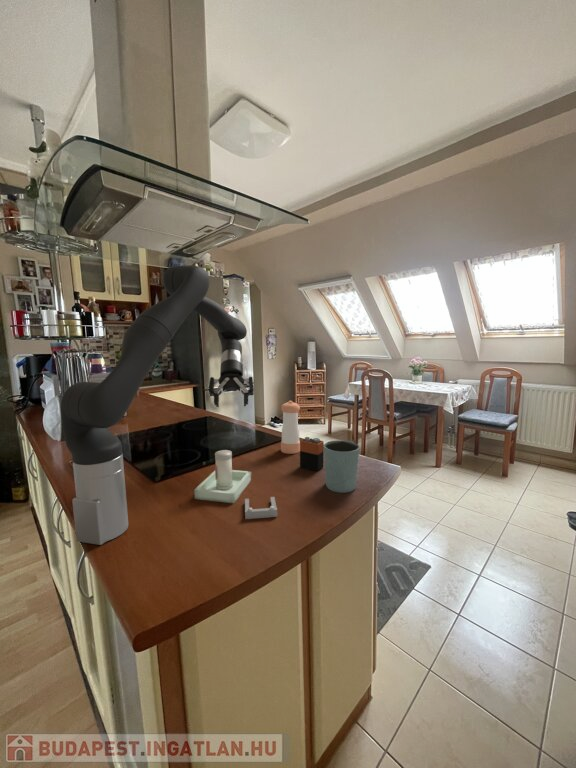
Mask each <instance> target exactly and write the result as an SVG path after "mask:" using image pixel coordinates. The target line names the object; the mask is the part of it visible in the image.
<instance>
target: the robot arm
mask: <svg viewBox="0 0 576 768" xmlns="http://www.w3.org/2000/svg"><path fill="white" fill-rule="evenodd" d="M162 280H163V282H162V283H163V285H164V288H165V291H166V292H167V293H168V294H169V296H168V297H166V298H165V299H163V300H161V301H159V302H156V303H154V304H153V305H151V306H149V307H148V308H146V309H145V310H144V311H142V312H141V313H140V314H139V315H137V317H136V318H135V320H134V321H132V323H131V324H130V325H129V327H128V328H127V329H126V331H125V333H124V335H123V338H122V344H121V353H120V358H119V360H118V362H117V363H116V365H115V366H114V367H113V368H112V370H111V372H109V374H108V375H107V376H106V377H105V378H104V379H103V380H102V381H100V382H93V381H92V382H90V381H80V382H76V383H73V384H71V385H70V386H68V387H67V389H65V391H64V393H63V395H62V397H61V400H60V416H61V424H62V429H63V435H64V442H65V445H66V447H67V450H68V451H69V452H70V453H69V454H71V458H72V459H71V460H72V469H73V476H74V477H73V478H74V487H75V496H76V497H74V498H72V500H71V501H72V509H73V520H74V529H75V538H76V542H79V543H85V544H91V545H99V546H101V545H103V544H105V543H107V542H108V541H111V540H114V539H115V538H118V537H120V536H121V535H122V534H124V533H125V532H126V530H128V528H129V516H128V515H129V514H128V504H127V502H128V501H127V491H126V489H127V488H126V480H125V469H124V454H123V443H122V442H121V440H120V439H119V438H118V437H117V436H116V435H114V434H113V433H112V431H111V430H110V428H111V427H113V426H115V425H116V424H117V423H119V422H120V421H121V420H122V419H123V417H124V416H125V415H126V413H127V412H128V410H129V408H130V406H131V404H132V403H133V400H134V399H135V397H136V395H137V393H138V391H139V389H140V387H141V385H142V383H143V382H144V380H145V379H146V377H147V375H148V374H149V373H150V371H151V369H152V368H153V366H154V365H155V363H156V362H157V360H158V359H159V357H160V356H161V354H162V353H163V352H164V351H165V350H166V348H167V346H168V345H169V344H170V342H171V341H172V339H173V337H174V336H175V334H176V333H177V331H178V330H179V329H180V327H181V326H182V324H183V323H184V322H185V320H186V319H187V318H188V317H189V315H190V314H191V313H192V312H193V311H194V312H195V313H197V314H198V315H199V316H201V318H203V319H204V320H205V321H207V322H208V324H210V326H212V327H213V328H214V330H216V331H217V335H218V338H219V341H220V345H221V357H220V371H219V372H220V373H219V378H214V377H212V376H211V377H210V378H209V385H208V394H209V395H208V396H209V397H213V404H214V406H215V407H216V408H219V405H220V396H221V395H223V394H224V393H225V391H226V392H237V391H238V392H239V393H240V394H242V395H243V407H247V405H249V396H254V394H255V393H254V391H255V388H254V380H253V377H252V376H249V377H248V378H244V364H243V347H242V343H241V342H240V341H241V340H243V339H244V338H246V336H247V332H248V331H247V327H246V325H245V323H243V322H242V321H241V320H240V319H239V318H237V317H234V316H233V315H231V314H230V313H229V312H228V311H227V310H226V309H225V308H224V307H223V306H222V305H221V304H219V303H218V302H216V301H215V300H213V299H211V298H209V297H208V296H206V295H207V293H208V291H209V288H210V276H209V273H208V271H206V270H205V269H204V268H203V267H202V266H199V265H191V264H190V265H188V264H187V265H183V264H182V265H179V264H178V265H171V266H168V267H167V268H166V269H165V271H164V274H163V279H162ZM217 384H218V386H217ZM244 384H246V385H247V386H248V387H249V389H247V388H246V387H245V385H244ZM215 386H217V388H216V389H215V390H214V388H215Z"/></svg>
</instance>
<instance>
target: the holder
mask: <svg viewBox="0 0 576 768" xmlns="http://www.w3.org/2000/svg"><path fill="white" fill-rule="evenodd" d="M244 516H245V518H244V519H245V520H252V519H253V520H254V519H265V518H266V519H267V518H277V517H278V507H277V503H276V498H275V496H270V506H269V507H266V508H253V507H250V498H244Z"/></svg>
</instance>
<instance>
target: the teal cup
mask: <svg viewBox="0 0 576 768" xmlns="http://www.w3.org/2000/svg"><path fill="white" fill-rule="evenodd" d="M359 456H360V445H359V444H358V443H355V442H353V441H348V440H330V441H327V442H324V455H323V459H324V473H325V474H324V475H325V478H324V479H325V486H326V488H327V489H328V490H330V491H332V492H335V493H340V494H344V493H345V494H346V493H350V492H352V491H354V490H356V487H357V473H358V467H359V463H358V462H359Z"/></svg>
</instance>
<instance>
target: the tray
mask: <svg viewBox="0 0 576 768" xmlns="http://www.w3.org/2000/svg"><path fill="white" fill-rule="evenodd" d="M232 481H233V487H232V488H231V489H229V490H224V491H221V490H218V489H217V488H216V477H215V470H214V471H213V472H211V473H210V474H209V475H208V476H207V478H205V479H204V480H203V481H202V482H200V483H199V485H198V486H196V488H194V490H193V491H194V499H195V500H199V501H200V500H201V501H209V502H219V503H227V504H235V503H236V501H237V500H238V499H239V497H240V496H241V494H242V493H243V492H244V490H245V489H246V488H247V486H248V485H249V484H250V483H251V481H252V471H248V470H236V469H232Z"/></svg>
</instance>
